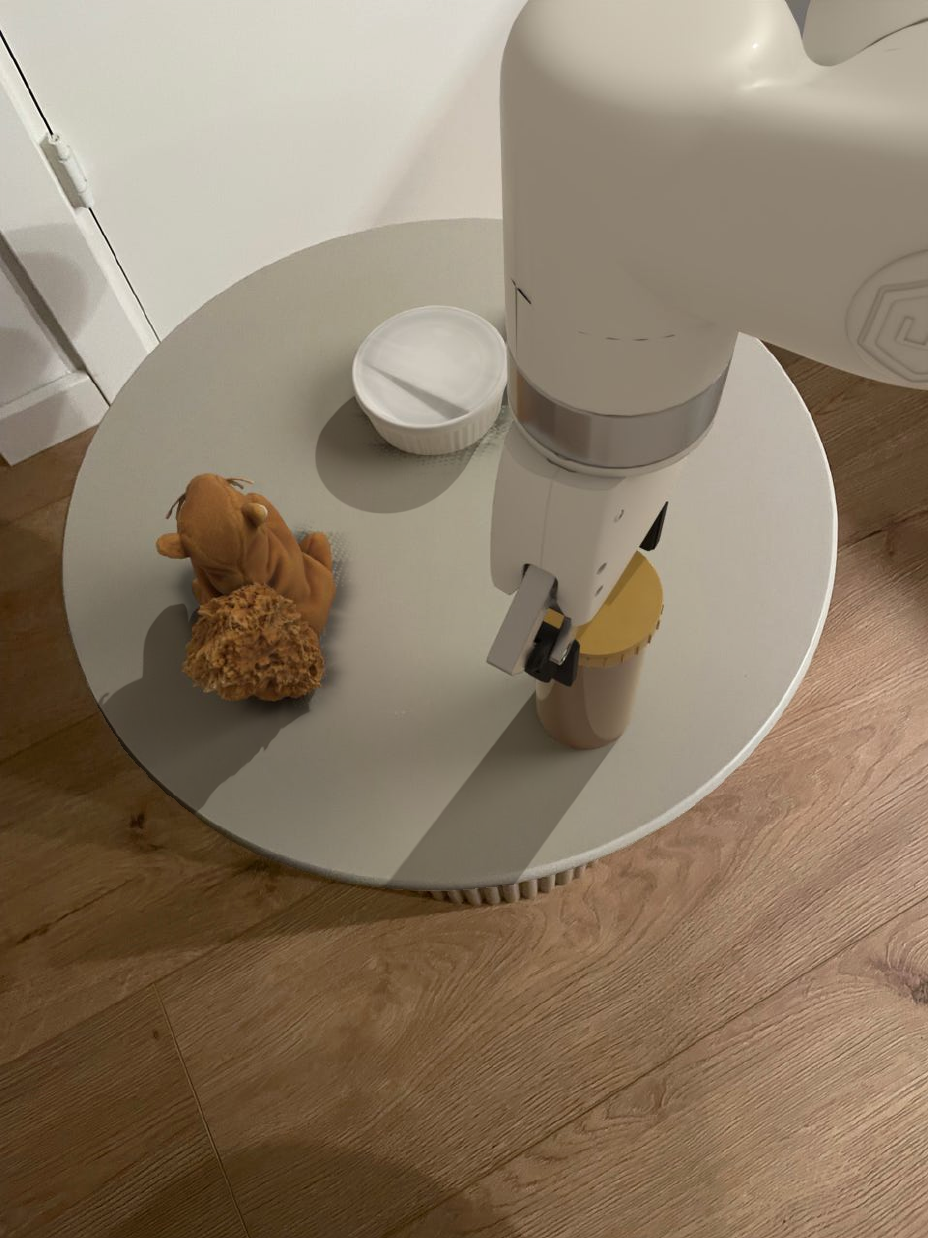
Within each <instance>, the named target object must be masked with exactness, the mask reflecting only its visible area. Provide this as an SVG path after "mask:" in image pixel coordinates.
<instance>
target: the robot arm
mask: <svg viewBox="0 0 928 1238" xmlns="http://www.w3.org/2000/svg"><path fill="white" fill-rule="evenodd" d="M501 57H502V58H501V63H500V72H499V99H498V100H499V101H498V102H499V134H500V135H499V136H500V170H501V171H500V172H501V201H502V202H501V206H502V207H501V209H502V210H501V211H502V240H503V241H502V243H503V244H502V245H503V276H504V277H503V278H504V280H503V281H504V282H503V283H504V313H505V314H504V315H505V345H506V352H507V383H506V392H507V394H506V395H507V402H508V404H507V405H508V409H509V411H510V415H511V418H512V422H511V424H510V426H509V428H508V431H507V432H506V434H505V438H504V441H503V445H502V449H501V453H500V458H499V462H498V467H497V473H496V478H495V483H494V489H493V498H492V507H491V508H492V509H491V522H490V539H489V541H490V542H489V543H490V547H489V561H490V562H489V566H490V567H489V568H490V570H489V571H490V577H491V582H492V584H493V587H494V588H496V589H498V590H499V591H501V592H502V593H504V594H506V595H508V596H511V595H513V594H514V593H515V592H516V593H515V595H514V597H513V599H512V602H511V604H510V606H509V608H508V611H506V614H505V617H504V619H503V621H502V623H501V625H500V627H499V630H498V632H497V633H496V636H495V638H494V641H493V643H492V645H491V647H490V649H489V652H488V653H487V656H486V661H485V662H486V663H485V664H487V665H490V666H492V667H493V668H496V669H497V670H499V671H501V672H503V673H504V674H506V675H509V676H511V677H516V676H518V675H520V674H523V673H524V672H525V673H526V674H527V675H528V676H530V677H532V678H534V679H535V680H536V679H538V680H540V681H542V682H545V683H549V682H550V681H551V679H554V680H556V681H558V682H560V683H562V684H563V685H566V686H569V687H570V686H572V684H573V682H574V681H575V679H576V677H577V670H578V661H579V652H580V644H579V642H578V641H577V640H575V636H576V633H577V631H578V628H579V626H580V625H583V624H586V623H588V622H590V621H591V620H592V619H593V617H594V616H595V615H596V613H597V612H598V611H599V609H600V608H601V606H602V605H603V603H604V602H605V600H606V598H607V597H608V595H609V594H610V592H611V591H612V589H613V587H614V586H615V584H616V583H617V581H618V580H619V578H620V576H621V575H622V573H623V572H624V570H625V568H626V567H627V565H628V564H629V562H630V560H631V559H632V557H633V555H634V554H635V552H636V551H638V549H641V550H642V551H643V550H644V551H646V552H652V551H654V550H655V549H656V548H657V546H658V544H659V543H660V541H661V536H662V534H663V533H662V532H663V528H664V524H665V519H666V515H667V511H668V506H669V501H668V500H669V498H670V496H671V494H672V492H673V491H674V489H675V487H676V485H677V484H678V482H679V479H680V478H681V476H682V473H683V471H684V468H685V466H686V463H687V461H688V458H689V455H690V454H691V453H692V452H693V451H694V450H695V449H697V448H698V446H699V445H701V443H702V442H703V441H704V440H705V438H706V437H707V436H708V434H709V432H710V431H711V429H712V428H713V426H714V424H715V420H716V417H717V414H718V411H719V406H720V403H721V400H722V397H723V393H724V390H725V385H726V382H727V378H728V374H729V370H730V367H731V363H732V359H733V356H734V352H735V347H736V343H737V340H738V336H739V333H742V334H744V335H747V336H750V337H752V338H755V339H757V340H760V341H763V342H765V343H768V344H771V345H774V346H775V347H779V348H781V349H783V350H786V351H789V352H791V353H794V354H796V355H799V356H802V357H804V358H807V359H810V360H812V361H814V362H817V363H821V364H823V365H826V366H828V367H832V368H834V369H837V370H840V371H843V372H846V373H849V374H853V375H855V376H859V377H861V378H865V379H867V380H872V381H876V382H879V383H883V384H888V385H893V386H897V387H904V388H909V389H914V390H923V391H928V0H810V1H809V5H808V8H807V11H806V16H805V21H804V27H803V33H802V35H801V30H800V27H799V25H798V23H797V21H796V19H795V17H794V15H793V13H792V11H791V9H790V7H789V5H788V3H787V2H786V0H527V1H526V3H525V4H524V5H523V7H522V8H521V9H520V12H519V13H518V15H517V16H516V18H515V19H514V21H513V24H512V26H511V28H510V31H509V32H508V36H507V40H506V42H505V46H504V48H503V53H502V56H501ZM549 608H550V609H552V610H554V611H556V612H558V613H560V614H562V615H564V618H563V621H562V624H561V627H560V629H559V628H557V627H555V626H553V625H551V624H549V623H547V622H545V621H543V620H544V617H545V615H546V613H547V611H548V609H549Z"/></svg>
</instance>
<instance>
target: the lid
mask: <svg viewBox="0 0 928 1238" xmlns="http://www.w3.org/2000/svg"><path fill="white" fill-rule="evenodd" d="M664 607H665V604H664V588H663V585H662V582H661V578H660V576H659V574H658V571H657V570H656V568H655V566H654V565H653V564H652V563H651V561H650V560H649V559H648V558H647V557H646V556H645V555H644V554H643V553H642V552H640V551H639V550H637V551H636V552H635V554H634V555H633V557H632V559H631V560H630V562H629V564H628V565H627V567H626V568H625V570H624V572H623V573H622V575H621V576H620V578H619V580H618V581H617V583H616V584H615V586H614V587H613V589H612V591H611V592H610V594H609V595H608V597H607V598H606V600H605V602H604V603H603V605H602V606H601V608H600V609H599V611H598V612H597V613H596V615H595V616H594V617H593V619H592V620H591V621H590V622H588V623H586V624H583V625H580V626H579V628H578V631H577V633H576V636H575V640H577V641H578V642H579V644H580V652H579V661H578V665H582V666H586V668H588V667H603V666H604V668H606V667H607V666H610V665H614V664H618V663H624V661H625V660H628V659H630V658H631V657H633V656H634V655H636V654H637V655H639V652H640V651H641V650H642V649H643V648H644V647H645V646H646V645H647V646H648V644H649V645H650V644H651V643H652V639H653V637H654V635H655V633H656V632H657V631H658V630H659V629H660V625H661V616H662V615H663V611H664ZM563 618H564V615H562V614H560V613H558V612H556V611H554V610H552V609H550V608H549V609H548V611H547V613H546V615H545V617H544V620H543V621H545V622H547V623H549V624H551V625H553V626H555V627H557V628H559V629H560V627H561V624H562V621H563Z"/></svg>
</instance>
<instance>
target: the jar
mask: <svg viewBox="0 0 928 1238" xmlns="http://www.w3.org/2000/svg"><path fill="white" fill-rule="evenodd" d="M647 648H648V644H647V645H646V646H645V647H644V648H643V649H642V650H641V651H640V652H639V655H637V654H636V655H634V656H633V657H631V658H630V659H628V660H625V661H624V663H618V664H614V665H610V666H607V667H606V668H604V666H603V667H588V668H586V666H582V665H578V670H577V677H576V679H575V681H574V682H573V684H572V686H570V687H569V686H566V685H563V684H562V683H560V682H558V681H556V680H554V679H551V681H550V682H549V683H545V682H542V681H540V680H538V679H536V678H535V708H536V709H535V710H536V713H537V714H536V715H537V717H538V720H539V722H540V724H541V725H542V728H543V729H544V731H545V732H546V733H547V734H548V735H549V736H550V737H551V738H552V739H554V740H555V741H556V742H558V743H560V744H561V745H564V746H566V747H569V748H571V749H577V750H595V749H600V748H603V747H605V746H608V745H610V744H612V743H613V742H614V741H616V740H617V739H618V738H620V737H621V736H622V734H623V733H624V732H626V729H627V728H628V726H629V724H630V722H631V719H632V716H633V712H634V708H635V703H636V699H637V694H638V689H639V684H640V680H641V675H642V671H643V666H644V661H645V657H646V652H647Z"/></svg>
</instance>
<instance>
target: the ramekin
mask: <svg viewBox="0 0 928 1238" xmlns="http://www.w3.org/2000/svg"><path fill="white" fill-rule="evenodd" d="M350 383H351V387H352V391H353V394H354V397H355V399H356V402H357V403H358V405H359V407H360V409H361V410H362V411H363V413H365V415H366V416H367V417H368V418H369V420H370V421H371V423H372V426H373V427H374V428H375V430H376V432H378V434H379V435H380V437H382V438H383V439H384V440H385V441H386V442H387V443H389V444H390V445H392V446H393V447H396V448H397V449H398V450H401V451H404V452H405V453H411V454H414V455H417V456H418V455H420V456H439V455H441V456H444V455H449V454H453V453H455V452H459V451H462V450H463V449H466V448H469V447H470V446H471V445H474V444H475V443H477V442H478V441H479V440H480V439H482V438H483V437H484V436H485V435H486V434H487V433H488V432H489V430H491V428H492V427H493V426H494V423H495V422H496V421H497V420H498V415H499V414H500V413H501V407H502V403H503V396H504V391H505V388H506V387H507V352H506V341H505V340H504V338H503V337H502V335H501V334H500V332H499V331H498V329H497V328H496V327H495V326H494V325H493V324H492V323H490V322H489V321H488V320H487V319H485V318H484V317H482V316H480V315H479V314H476V313H475V312H472V311H470V310H466V309H464V308H461V307H456V306H453V305H441V304H432V305H425V306H418V307H415V308H411V309H406V310H404V311H402V312H399V313H396V314H394V315H393V316H390V317H388V318H387V319H385V320H383V321H382V322H380V323H378V325H377V326H375V327H374V328H373V329H372V330H371V331H370V332H369V333H368V334H367V335H366V336H365V337H364V339H363V340H362V342H360V344H359V346H358V347H357V349H356V351H355V353H354V356H353V358H352V363H351V370H350Z"/></svg>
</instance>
